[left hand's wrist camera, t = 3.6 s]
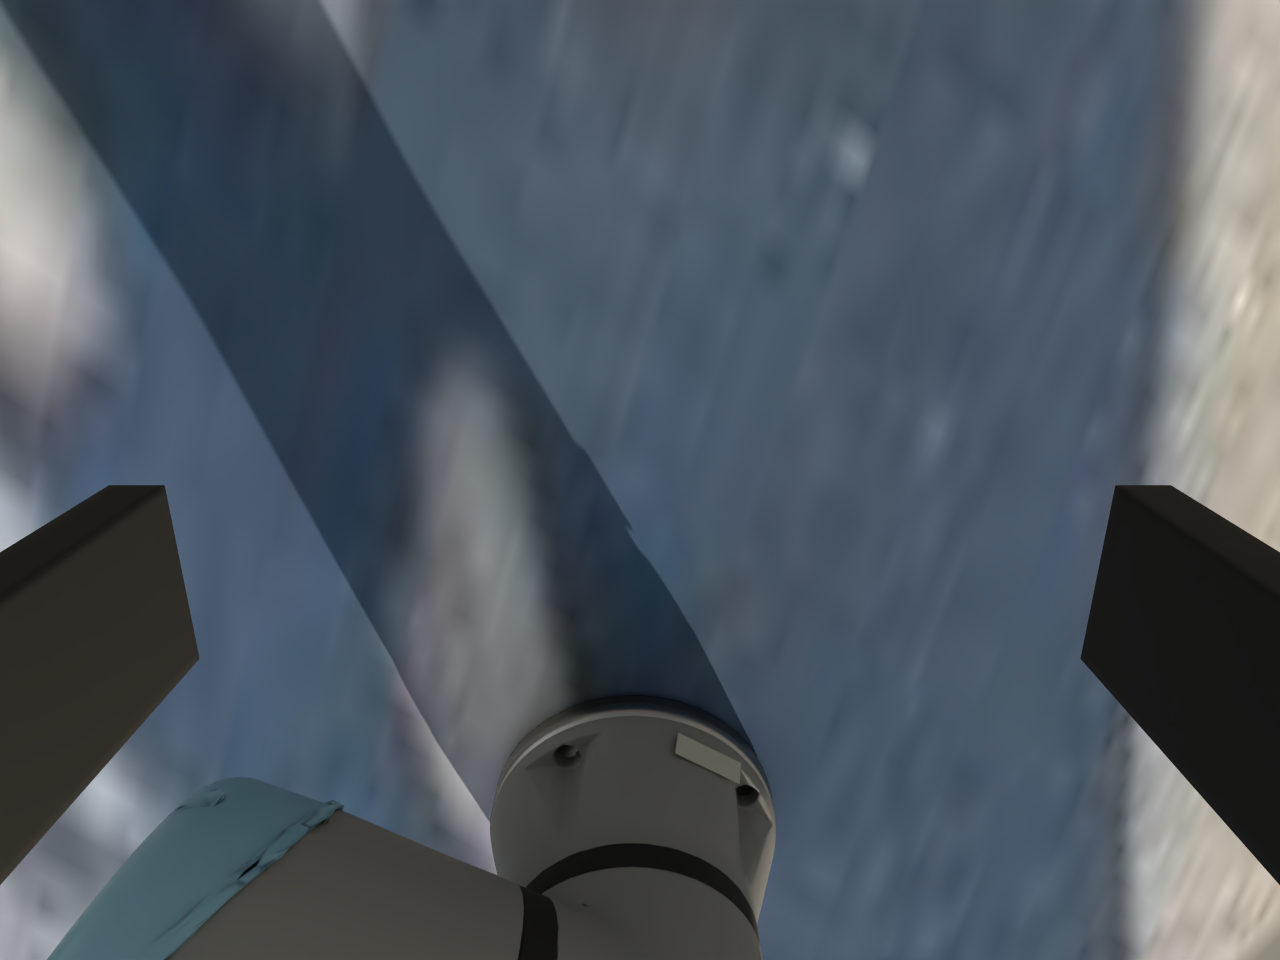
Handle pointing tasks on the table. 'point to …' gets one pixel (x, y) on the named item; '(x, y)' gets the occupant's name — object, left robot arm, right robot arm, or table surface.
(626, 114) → the table surface
